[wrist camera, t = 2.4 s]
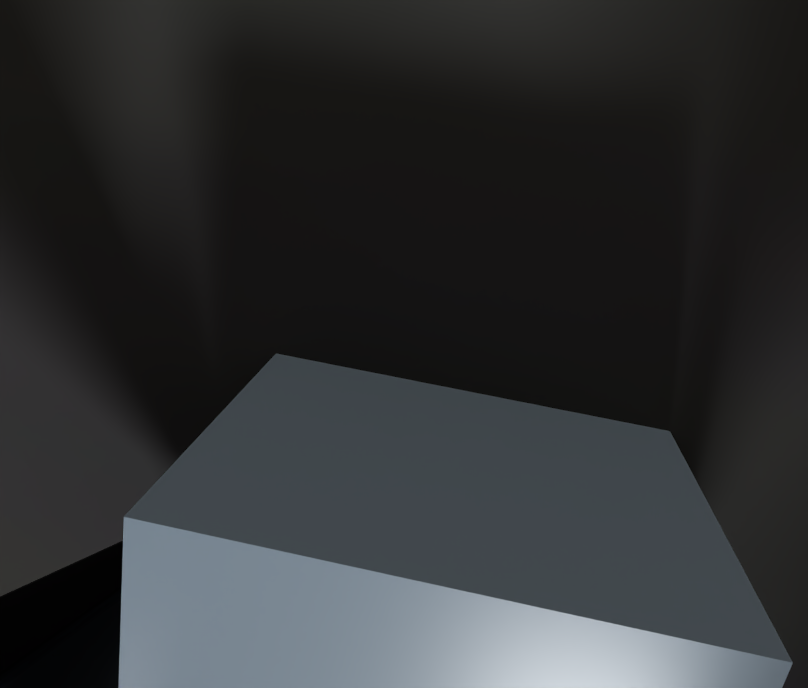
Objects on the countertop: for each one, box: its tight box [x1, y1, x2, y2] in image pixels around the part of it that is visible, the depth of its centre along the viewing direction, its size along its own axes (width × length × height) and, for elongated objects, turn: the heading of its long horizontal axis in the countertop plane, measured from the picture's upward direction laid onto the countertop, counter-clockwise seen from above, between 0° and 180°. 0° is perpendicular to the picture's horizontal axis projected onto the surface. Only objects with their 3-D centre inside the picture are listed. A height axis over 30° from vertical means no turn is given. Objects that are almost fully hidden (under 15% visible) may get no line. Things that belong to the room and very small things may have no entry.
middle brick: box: [118, 354, 793, 688], centre depth 8 cm, size 5×5×4 cm
